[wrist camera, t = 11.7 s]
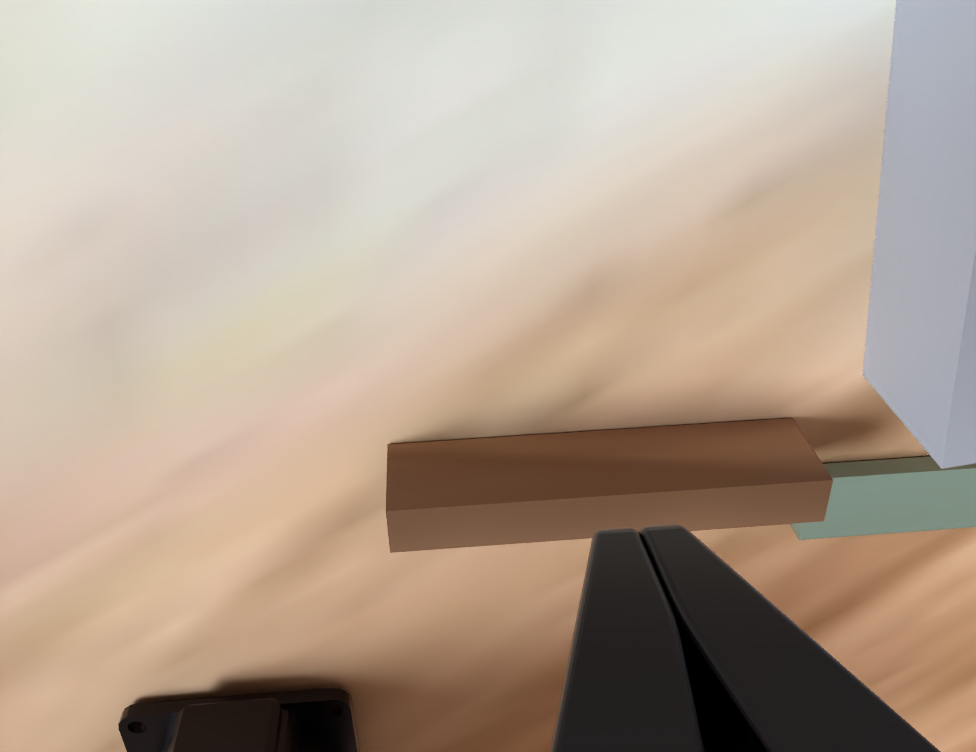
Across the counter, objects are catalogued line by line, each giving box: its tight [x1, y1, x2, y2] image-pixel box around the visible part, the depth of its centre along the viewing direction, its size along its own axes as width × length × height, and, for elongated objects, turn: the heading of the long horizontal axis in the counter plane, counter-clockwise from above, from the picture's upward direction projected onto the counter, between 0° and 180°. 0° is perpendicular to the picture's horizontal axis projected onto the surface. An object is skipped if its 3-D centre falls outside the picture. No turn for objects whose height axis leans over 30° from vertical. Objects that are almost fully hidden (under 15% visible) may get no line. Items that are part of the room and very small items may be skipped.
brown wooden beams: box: [386, 418, 833, 553], centre depth 18 cm, size 15×10×2 cm, turn 1°
